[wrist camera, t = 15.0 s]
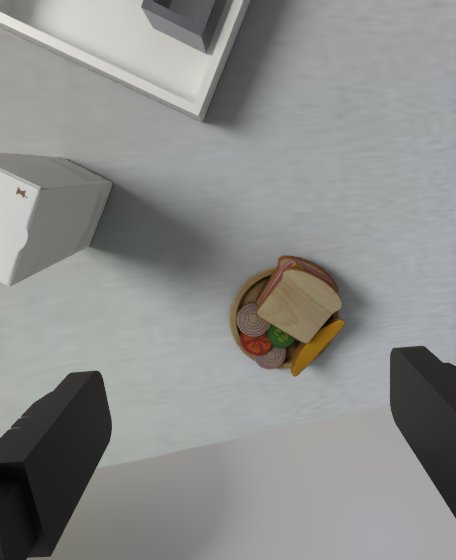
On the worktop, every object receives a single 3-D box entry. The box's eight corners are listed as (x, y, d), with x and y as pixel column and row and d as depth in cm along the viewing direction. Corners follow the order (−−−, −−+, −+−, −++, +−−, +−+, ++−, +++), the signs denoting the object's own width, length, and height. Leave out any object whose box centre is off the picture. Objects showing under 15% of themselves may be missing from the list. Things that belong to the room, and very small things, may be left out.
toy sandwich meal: (208, 321, 44) (204, 337, 40) (284, 235, 41) (289, 241, 37) (286, 382, 46) (291, 404, 41) (364, 304, 43) (379, 318, 39)
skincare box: (62, 156, 40) (-47, 140, 25) (118, 184, 40) (45, 185, 25) (37, 226, 42) (-78, 250, 27) (91, 252, 42) (8, 289, 27)
